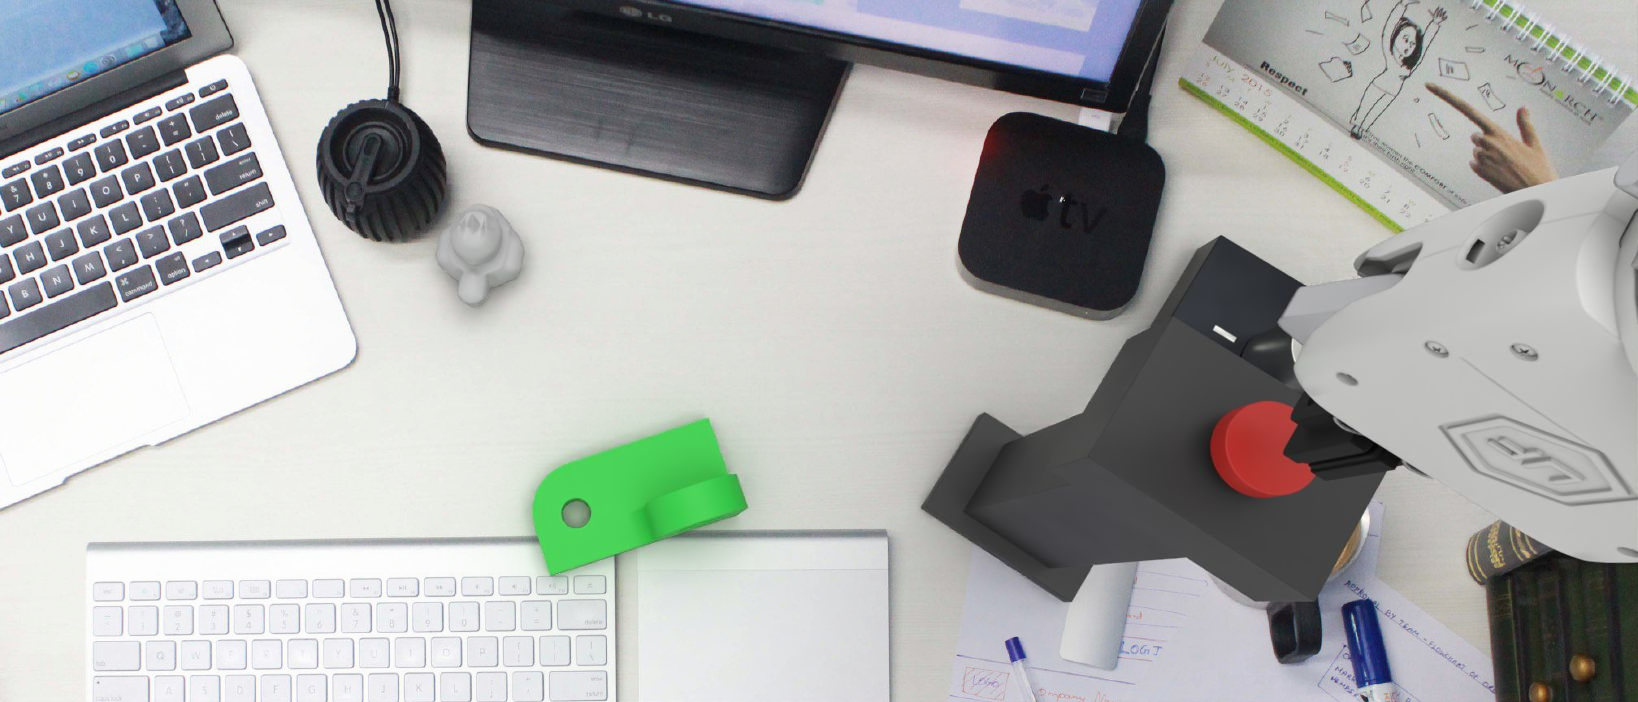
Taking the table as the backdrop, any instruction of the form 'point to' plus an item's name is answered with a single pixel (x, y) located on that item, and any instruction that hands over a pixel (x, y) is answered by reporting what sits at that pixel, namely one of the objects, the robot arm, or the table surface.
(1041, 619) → the table surface
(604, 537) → the mechanical part
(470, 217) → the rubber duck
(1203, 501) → the button stand
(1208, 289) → the dial panel
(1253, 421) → the button
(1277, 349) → the dial
